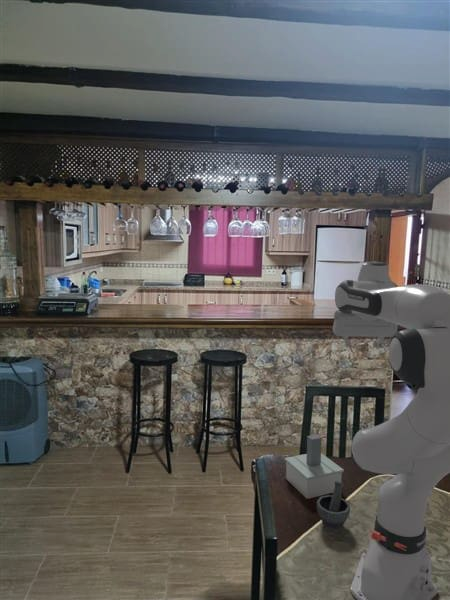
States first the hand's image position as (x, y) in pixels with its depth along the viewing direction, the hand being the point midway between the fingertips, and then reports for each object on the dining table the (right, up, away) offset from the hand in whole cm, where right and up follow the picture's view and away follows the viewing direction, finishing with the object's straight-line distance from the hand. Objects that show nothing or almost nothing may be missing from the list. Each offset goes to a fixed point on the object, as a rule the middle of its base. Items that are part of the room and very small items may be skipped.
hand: (361, 346), depth 140 cm
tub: (-14, -51, +11) cm, 54 cm away
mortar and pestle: (-12, -53, -11) cm, 56 cm away
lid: (-14, -45, +10) cm, 49 cm away
